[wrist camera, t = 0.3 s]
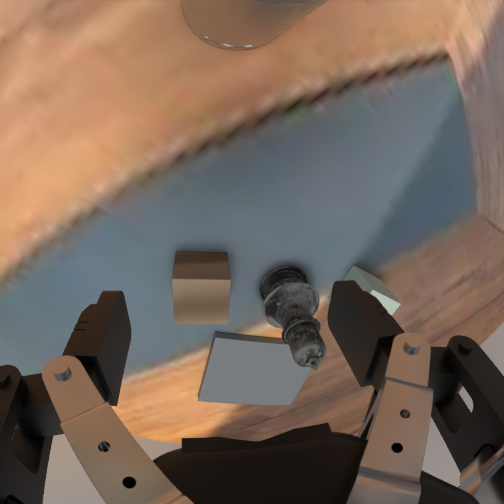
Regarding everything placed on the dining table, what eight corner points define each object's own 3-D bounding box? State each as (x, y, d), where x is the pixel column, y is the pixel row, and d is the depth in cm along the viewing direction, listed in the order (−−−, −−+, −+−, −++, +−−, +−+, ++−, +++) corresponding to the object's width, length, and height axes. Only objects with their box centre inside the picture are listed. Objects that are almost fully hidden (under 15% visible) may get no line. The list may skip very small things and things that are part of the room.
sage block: (353, 264, 34) (372, 289, 30) (381, 279, 36) (400, 303, 31) (328, 298, 36) (343, 325, 31) (356, 310, 38) (373, 336, 33)
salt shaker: (317, 292, 35) (357, 370, 25) (271, 316, 36) (296, 399, 25) (296, 253, 32) (338, 331, 22) (247, 280, 33) (267, 367, 22)
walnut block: (176, 251, 30) (172, 278, 26) (226, 252, 31) (230, 279, 27) (177, 293, 33) (174, 323, 28) (224, 293, 33) (227, 324, 29)
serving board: (215, 331, 36) (215, 337, 35) (321, 341, 39) (324, 346, 38) (198, 395, 41) (198, 400, 40) (288, 400, 45) (290, 405, 44)
